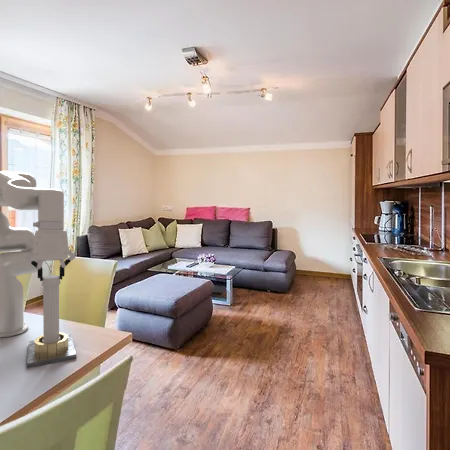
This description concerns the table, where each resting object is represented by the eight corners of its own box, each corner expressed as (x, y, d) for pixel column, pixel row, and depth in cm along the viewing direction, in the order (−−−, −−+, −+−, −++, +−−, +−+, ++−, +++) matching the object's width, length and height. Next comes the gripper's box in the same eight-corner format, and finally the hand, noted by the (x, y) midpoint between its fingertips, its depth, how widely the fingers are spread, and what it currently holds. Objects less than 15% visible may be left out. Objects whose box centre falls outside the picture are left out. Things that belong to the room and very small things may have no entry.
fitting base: (28, 345, 115) (28, 330, 115) (71, 337, 122) (71, 324, 122) (27, 368, 99) (26, 351, 99) (76, 358, 107) (76, 342, 106)
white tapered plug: (52, 350, 106) (52, 262, 103) (36, 348, 107) (35, 260, 105) (64, 343, 111) (64, 259, 109) (48, 341, 112) (48, 257, 110)
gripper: (20, 227, 98) (20, 284, 100) (80, 226, 107) (80, 279, 108) (21, 225, 105) (21, 279, 106) (78, 225, 113) (77, 274, 115)
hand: (51, 278), depth 107 cm, fingers closed on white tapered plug, 5 cm apart
